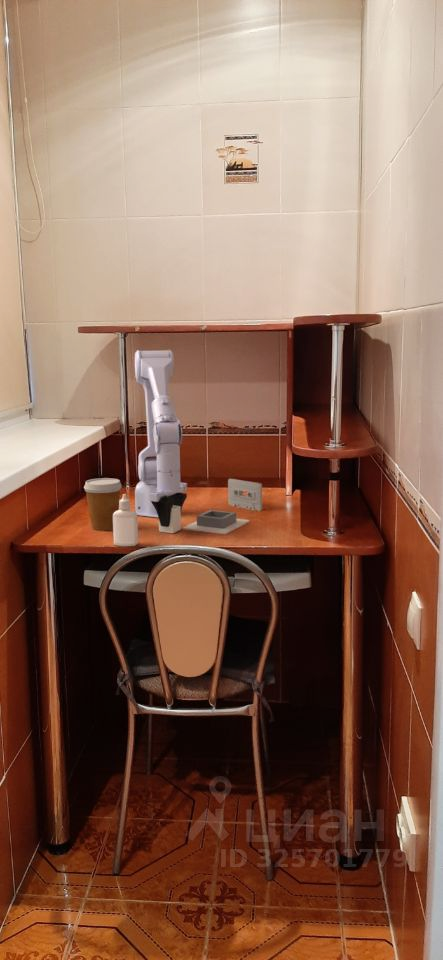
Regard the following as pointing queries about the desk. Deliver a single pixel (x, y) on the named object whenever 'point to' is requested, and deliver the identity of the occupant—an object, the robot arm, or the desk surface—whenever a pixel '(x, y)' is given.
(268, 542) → the desk surface
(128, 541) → the eye dropper bottle
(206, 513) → the socket dock
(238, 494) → the cassette
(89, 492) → the disposable coffee cup
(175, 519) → the block
